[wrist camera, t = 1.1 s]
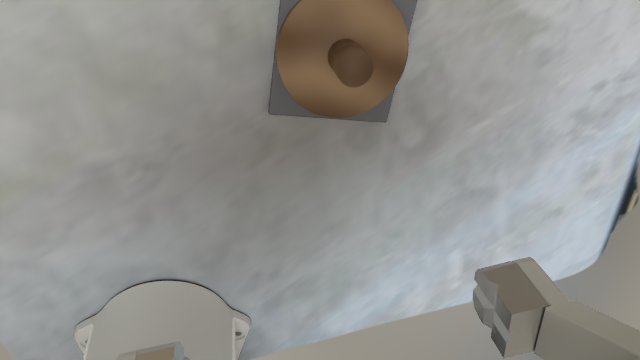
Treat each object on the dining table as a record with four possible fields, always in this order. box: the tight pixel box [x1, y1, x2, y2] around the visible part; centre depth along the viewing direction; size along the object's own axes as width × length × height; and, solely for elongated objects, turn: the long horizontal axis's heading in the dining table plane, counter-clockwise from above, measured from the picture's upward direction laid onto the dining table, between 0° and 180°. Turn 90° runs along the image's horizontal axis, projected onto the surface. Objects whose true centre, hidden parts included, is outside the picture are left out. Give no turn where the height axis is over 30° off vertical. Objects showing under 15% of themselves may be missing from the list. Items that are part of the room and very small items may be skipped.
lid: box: [276, 0, 408, 118], centre depth 35 cm, size 11×11×4 cm
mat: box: [268, 0, 417, 122], centre depth 37 cm, size 12×11×1 cm
